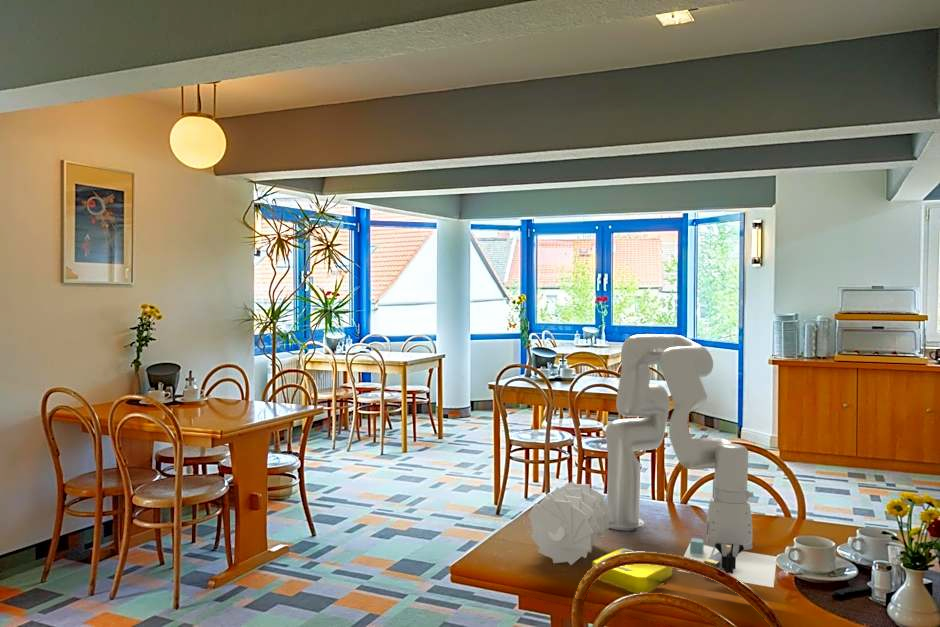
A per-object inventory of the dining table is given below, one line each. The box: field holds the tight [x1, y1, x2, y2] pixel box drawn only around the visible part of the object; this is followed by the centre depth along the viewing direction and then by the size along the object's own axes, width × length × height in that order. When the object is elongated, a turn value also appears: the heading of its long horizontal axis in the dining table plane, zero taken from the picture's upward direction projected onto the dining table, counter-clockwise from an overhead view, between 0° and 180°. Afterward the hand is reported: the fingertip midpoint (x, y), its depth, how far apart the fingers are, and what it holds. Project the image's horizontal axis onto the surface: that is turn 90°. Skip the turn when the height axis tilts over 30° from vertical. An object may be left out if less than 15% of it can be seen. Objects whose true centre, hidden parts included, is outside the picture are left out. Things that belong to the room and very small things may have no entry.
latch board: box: [676, 537, 777, 589], centre depth 187 cm, size 22×23×6 cm
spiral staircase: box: [527, 480, 611, 566], centre depth 195 cm, size 18×18×25 cm
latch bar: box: [704, 552, 729, 571], centre depth 182 cm, size 10×3×3 cm, turn 138°
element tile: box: [591, 547, 673, 594], centre depth 179 cm, size 15×15×5 cm
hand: (728, 571), depth 178 cm, fingers closed
